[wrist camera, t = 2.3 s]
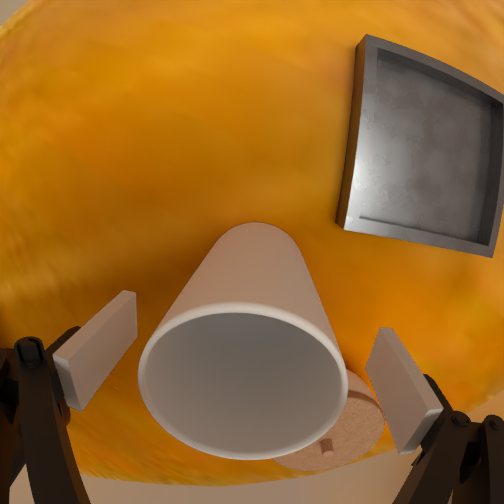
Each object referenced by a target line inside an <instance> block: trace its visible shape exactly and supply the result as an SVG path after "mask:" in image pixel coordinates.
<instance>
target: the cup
mask: <svg viewBox="0 0 504 504" xmlns="http://www.w3.org/2000/svg"><path fill="white" fill-rule="evenodd" d="M138 385H139V390H140V393H141V396H142V399H143V401H144V403H145V405H146V407H147V409H148V410H149V412H150V414H151V415H152V416H153V418H154V419H155V420H156V421H157V422H158V423H159V424H160V425H161V426H162V427H163V428H164V429H165V430H166V431H167V432H168V433H170V434H171V435H172V436H174V437H175V438H176V439H178V440H179V441H181V442H183V443H185V444H186V445H188V446H190V447H192V448H194V449H197V450H199V451H202V452H205V453H208V454H211V455H215V456H218V457H223V458H229V459H238V460H261V459H269V458H275V457H279V456H283V455H287V454H290V453H293V452H295V451H298V450H300V449H302V448H304V447H306V446H308V445H310V444H312V443H313V442H315V441H316V440H318V439H319V438H320V437H322V436H323V435H324V434H325V433H326V432H327V431H328V430H329V429H330V428H331V427H332V426H333V425H334V424H335V422H336V421H337V420H338V418H339V416H340V415H341V413H342V411H343V409H344V406H345V403H346V400H347V395H348V378H347V371H346V367H345V363H344V360H343V357H342V355H341V352H340V349H339V347H338V344H337V341H336V339H335V336H334V333H333V331H332V328H331V326H330V323H329V320H328V318H327V315H326V313H325V310H324V308H323V305H322V303H321V300H320V298H319V295H318V293H317V290H316V288H315V285H314V283H313V281H312V278H311V276H310V273H309V271H308V268H307V266H306V264H305V261H304V259H303V257H302V254H301V252H300V250H299V248H298V246H297V244H296V243H295V241H294V240H293V239H292V238H291V237H290V236H289V235H288V234H287V233H285V232H284V231H283V230H281V229H279V228H277V227H275V226H273V225H270V224H266V223H258V222H253V223H245V224H241V225H238V226H235V227H233V228H231V229H230V230H228V231H227V232H225V233H224V234H223V235H222V236H221V237H220V238H219V239H218V240H217V241H216V243H215V244H214V246H213V247H212V248H211V250H210V251H209V253H208V254H207V256H206V257H205V258H204V260H203V261H202V263H201V264H200V266H199V267H198V268H197V270H196V271H195V273H194V274H193V276H192V277H191V278H190V280H189V281H188V283H187V284H186V286H185V287H184V289H183V290H182V291H181V293H180V294H179V296H178V297H177V299H176V300H175V302H174V303H173V305H172V306H171V308H170V309H169V310H168V312H167V313H166V315H165V316H164V318H163V319H162V321H161V322H160V324H159V326H158V327H157V329H156V330H155V332H154V333H153V335H152V336H151V338H150V339H149V341H148V342H147V344H146V346H145V348H144V351H143V353H142V355H141V359H140V362H139V367H138Z"/></svg>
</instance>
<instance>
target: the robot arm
mask: <svg viewBox="0 0 504 504" xmlns="http://www.w3.org/2000/svg"><path fill="white" fill-rule="evenodd" d="M137 336H138V333H137V309H136V292H131V291H126V290H123V291H122V292H121V293H120V294H118V295H117V296H116V297H115V298H114V299H113V300H112V301H110V302H109V303H108V304H107V305H106V306H105V307H104V308H103V309H101V310H100V311H99V312H98V313H97V314H96V315H95V316H94V317H92V318H91V319H90V320H89V321H88V322H87V323H86V324H85V325H84V326H83V327H79V326H76V327H73V328H71V329H69V330H67V331H66V332H65V333H64V334H63V335H62V337H61V336H60V337H59V338H58V339H57V341H55V342H54V343H53V344H51V345H50V346H49V347H48V348H47V349H46V350H45V351H44V346H43V343H42V341H41V340H40V339H39V338H36V337H24V338H21V339H19V340H18V341H17V342H16V343H15V345H14V350H12V349H5V350H4V349H3V348H0V504H9V492H10V486H11V485H12V483H13V482H14V480H15V478H16V477H17V476H18V474H19V473H20V471H21V470H22V468H23V467H24V465H25V464H26V467H27V472H28V477H29V482H30V486H31V491H32V495H33V499H34V502H35V504H91V503H90V501H89V498H88V495H87V493H86V490H85V487H84V485H83V482H82V479H81V476H80V473H79V470H78V467H77V464H76V461H75V458H74V454H73V451H72V447H71V444H70V440H69V437H68V433H67V429H66V426H67V424H68V423H69V421H70V411H69V408H68V406H69V407H71V408H74V409H76V410H78V411H81V412H82V411H83V410H84V408H85V407H86V405H87V404H88V403H89V401H90V400H91V398H92V397H93V396H94V394H95V393H96V391H97V390H98V389H99V387H100V386H101V385H102V383H103V382H104V380H105V379H106V378H107V376H108V375H109V374H110V372H111V371H112V370H113V368H114V367H115V366H116V364H117V363H118V362H119V360H120V359H121V358H122V356H123V355H124V354H125V352H126V351H127V350H128V348H129V347H130V346H131V344H132V343H133V342H134V340H135V339H136V338H137ZM365 369H366V372H367V374H368V376H369V379H370V381H371V384H372V386H373V389H374V391H375V394H376V396H377V398H378V401H379V404H380V406H381V409H382V411H383V414H384V416H385V419H386V421H387V424H388V427H389V429H390V432H391V435H392V437H393V440H394V443H395V446H396V448H397V451H398V454H399V455H401V454H409V453H413V452H414V451H415V450H416V449H417V447H418V446H419V445H421V447H422V449H423V450H422V452H421V453H420V455H419V456H418V457H417V458H416V459H415V461H414V462H413V463H412V464H411V465H412V466H413V465H414V466H413V468H412V470H411V472H410V474H409V475H408V477H407V479H406V481H405V483H404V485H403V486H402V488H401V490H400V492H399V493H398V495H397V497H396V498H395V500H394V502H393V503H392V504H447V503H448V501H449V498H450V496H451V493H452V490H453V496H452V504H504V421H503V420H502V418H500V417H499V416H496V415H488V416H486V418H485V419H484V421H483V422H482V423H476V422H471V420H470V418H469V417H468V416H467V415H466V414H464V413H463V412H460V411H453V409H452V407H451V406H450V404H449V403H448V401H447V399H446V398H445V396H444V395H443V394H442V392H441V390H440V389H439V388H438V385H437V384H436V382H435V381H434V380H433V379H432V378H431V377H430V376H428V375H427V374H422V372H421V371H420V369H419V368H418V366H417V365H416V363H415V362H414V360H413V359H412V357H411V356H410V354H409V353H408V351H407V350H406V348H405V347H404V345H403V344H402V342H401V341H400V339H399V338H398V336H397V335H396V333H395V332H394V330H393V329H392V328H384V327H380V328H379V331H378V334H377V337H376V340H375V343H374V346H373V348H372V351H371V354H370V356H369V359H368V362H367V364H366V367H365ZM64 397H65V399H64ZM65 400H66V401H65Z"/></svg>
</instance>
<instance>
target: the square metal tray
mask: <svg viewBox="0 0 504 504" xmlns="http://www.w3.org/2000/svg"><path fill="white" fill-rule="evenodd" d="M503 204H504V95H503V94H501V93H500V92H498V91H496V90H495V89H493V88H491V87H490V86H488V85H486V84H484V83H483V82H481V81H479V80H477V79H475V78H474V77H472V76H470V75H468V74H466V73H464V72H462V71H460V70H458V69H456V68H454V67H452V66H450V65H448V64H446V63H443V62H441V61H439V60H437V59H434V58H432V57H430V56H427V55H425V54H423V53H420V52H418V51H415V50H412V49H410V48H407V47H404V46H402V45H399V44H396V43H393V42H390V41H387V40H384V39H381V38H378V37H374V36H371V35H368V34H366V35H365V36H364V37H363V39H362V40H361V41H360V43H359V44H358V45H357V47H356V57H355V72H354V85H353V96H352V107H351V116H350V125H349V134H348V142H347V150H346V158H345V165H344V172H343V179H342V185H341V192H340V198H339V204H338V210H337V216H336V221H335V223H336V224H337V225H339V226H340V227H341V228H343V229H344V230H349V231H355V232H361V233H367V234H373V235H378V236H384V237H389V238H395V239H400V240H406V241H411V242H416V243H422V244H427V245H432V246H437V247H442V248H447V249H452V250H457V251H462V252H466V253H471V254H476V255H480V256H485V257H490V258H493V254H494V250H495V245H496V241H497V236H498V232H499V227H500V222H501V216H502V210H503Z"/></svg>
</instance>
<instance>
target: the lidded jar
mask: <svg viewBox="0 0 504 504" xmlns="http://www.w3.org/2000/svg"><path fill="white" fill-rule="evenodd" d="M346 371H347V378H348V395H347V400H346V403H345V406H344V409H343V411H342V413H341V415H340V416H339V418H338V420H337V421H336V422H335V424H334V425H333V426H332V427H331V428H330V429H329V430H328V431H327V432H326V433H325V434H324V435H323V436H322V437H320V438H319V439H318V440H316V441H315V442H313V443H312V444H310V445H308V446H306V447H304V448H302V449H300V450H298V451H295V452H293V453H290V454H287V455H283V456H279V457H275V458H272V459H273V460H274V461H275V462H277V463H279V464H280V465H282V466H285V467H287V468H291V469H295V470H302V471H319V470H326V469H331V468H336V467H339V466H342V465H345V464H347V463H349V462H352V461H354V460H355V459H357V458H359V457H361V456H362V455H364V454H365V453H366V452H368V451H369V450H370V449H371V448H372V447H373V446H374V445H375V444H376V443H377V441H378V440H379V438H380V437H381V434H382V432H383V430H384V425H385V419H384V415H383V412H382V410H381V408H380V407H379V405H378V403H377V402H376V399H375V397H374V395H373V394H372V392H371V391H370V389H369V388H368V386H367V385H366V383H365V382H364V381H363V380H362V379H361V378H360V377H359V376H358V375H356V374H355V373H353V372H352V371H350V370H348V369H346Z"/></svg>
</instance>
